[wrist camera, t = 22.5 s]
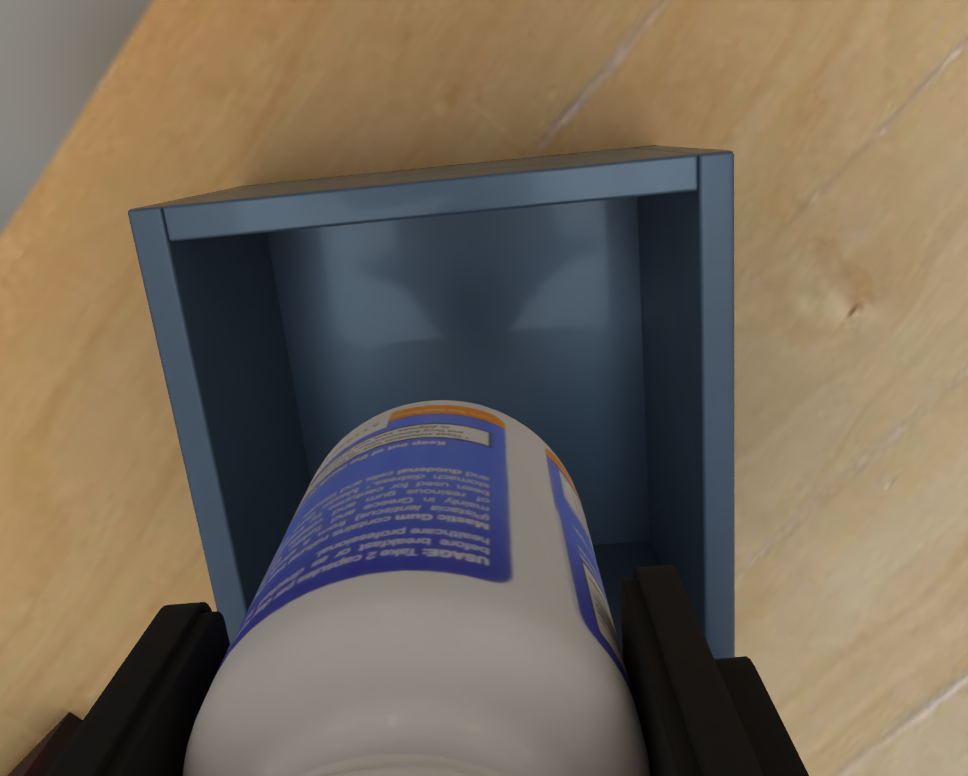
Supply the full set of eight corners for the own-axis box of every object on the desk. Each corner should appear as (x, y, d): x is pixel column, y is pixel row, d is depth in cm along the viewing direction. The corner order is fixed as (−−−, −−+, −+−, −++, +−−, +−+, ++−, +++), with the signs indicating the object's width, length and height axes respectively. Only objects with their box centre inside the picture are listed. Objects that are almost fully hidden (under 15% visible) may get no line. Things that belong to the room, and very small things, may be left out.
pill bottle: (260, 558, 16) (-59, 1140, 7) (399, 337, 15) (238, 687, 5) (488, 683, 17) (485, 1354, 8) (640, 485, 15) (864, 1011, 6)
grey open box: (241, 186, 26) (125, 209, 18) (655, 145, 26) (735, 150, 18) (312, 575, 31) (245, 740, 22) (667, 546, 30) (735, 704, 22)
